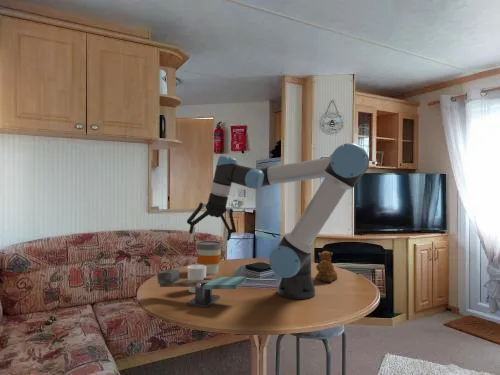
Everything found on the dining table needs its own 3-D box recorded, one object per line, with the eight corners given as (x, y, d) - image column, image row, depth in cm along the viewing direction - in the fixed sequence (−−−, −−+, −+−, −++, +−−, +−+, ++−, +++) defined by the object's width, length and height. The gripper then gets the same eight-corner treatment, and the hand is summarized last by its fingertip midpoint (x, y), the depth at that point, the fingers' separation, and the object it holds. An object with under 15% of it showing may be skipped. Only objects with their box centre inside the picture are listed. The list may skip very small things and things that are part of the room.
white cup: (202, 294, 144) (202, 269, 144) (184, 292, 146) (184, 268, 146) (208, 288, 152) (209, 265, 152) (191, 287, 153) (191, 264, 153)
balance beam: (246, 280, 135) (245, 266, 136) (235, 289, 124) (233, 273, 124) (170, 281, 146) (169, 268, 146) (153, 289, 134) (152, 275, 135)
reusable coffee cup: (200, 269, 188) (200, 240, 188) (223, 269, 186) (223, 241, 186) (193, 274, 176) (193, 244, 176) (218, 275, 174) (218, 245, 174)
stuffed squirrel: (337, 277, 173) (337, 249, 173) (337, 284, 159) (337, 255, 159) (316, 275, 175) (316, 248, 175) (314, 283, 162) (314, 254, 162)
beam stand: (219, 298, 139) (219, 277, 139) (206, 307, 127) (206, 285, 127) (201, 296, 141) (201, 275, 141) (186, 305, 130) (186, 283, 130)
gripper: (247, 199, 150) (235, 247, 152) (188, 186, 144) (176, 236, 146) (250, 202, 143) (238, 252, 145) (188, 189, 137) (176, 241, 139)
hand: (207, 244), depth 145 cm, fingers open, 13 cm apart
